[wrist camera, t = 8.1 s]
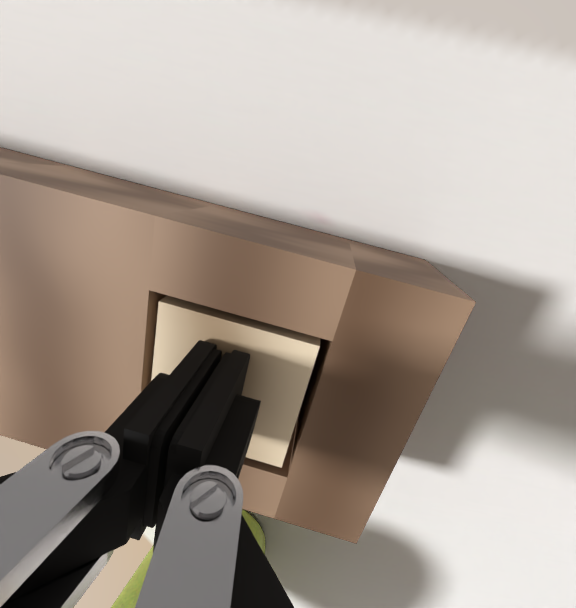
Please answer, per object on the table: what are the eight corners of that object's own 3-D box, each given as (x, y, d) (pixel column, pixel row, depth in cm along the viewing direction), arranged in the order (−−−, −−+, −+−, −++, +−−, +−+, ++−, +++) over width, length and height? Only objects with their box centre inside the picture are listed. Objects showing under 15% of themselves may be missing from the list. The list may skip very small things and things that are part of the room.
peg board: (425, 259, 13) (476, 302, 8) (350, 443, 17) (356, 543, 12) (-117, 116, 14) (-341, 82, 9) (-75, 319, 18) (-221, 367, 13)
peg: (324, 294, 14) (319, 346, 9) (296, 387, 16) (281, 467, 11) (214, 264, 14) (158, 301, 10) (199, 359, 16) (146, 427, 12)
